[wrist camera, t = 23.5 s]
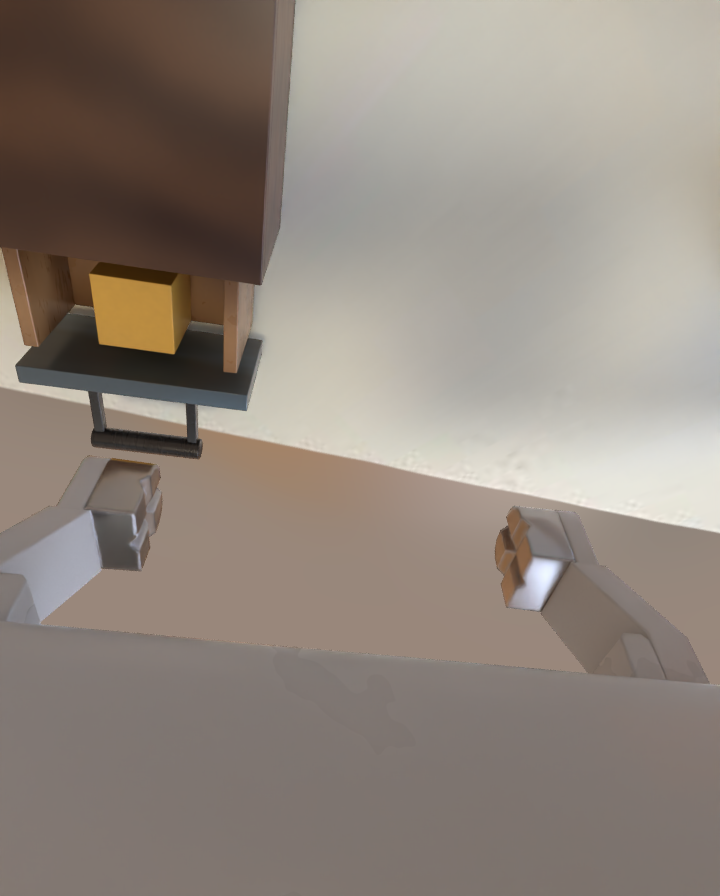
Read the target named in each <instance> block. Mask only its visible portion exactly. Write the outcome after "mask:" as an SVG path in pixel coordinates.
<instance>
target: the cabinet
mask: <svg viewBox="0 0 720 896" xmlns="http://www.w3.org/2000/svg"><path fill="white" fill-rule="evenodd" d="M294 14H295V0H0V247H3V248H10V249H17V250H24V251H31V252H37V253H44V254H51V255H58V256H65V257H71V258H78V259H85V260H92V261H99V262H105V263H112V264H119V265H126V266H133V267H139V268H146V269H153V270H160V271H166V272H173V273H180V274H187V275H194V276H200V277H207V278H214V279H221V280H228V281H234V282H241V283H248V284H255V285H262V282H263V278H264V276H265V273H266V270H267V266H268V263H269V260H270V257H271V254H272V251H273V248H274V245H275V242H276V239H277V235H278V232H279V229H280V221H281V206H282V191H283V176H284V161H285V147H286V132H287V117H288V102H289V88H290V73H291V58H292V43H293V29H294Z"/></svg>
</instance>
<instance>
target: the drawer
mask: <svg viewBox="0 0 720 896" xmlns="http://www.w3.org/2000/svg"><path fill="white" fill-rule="evenodd" d="M1 248H2V252H3V256H4V260H5V265H6V269H7V273H8V277H9V281H10V286H11V290H12V294H13V298H14V303H15V307H16V311H17V315H18V320H19V324H20V328H21V332H22V336H23V341H24V345H27V346H32V347H31V348H30V349H29V350H28V352H27V353H26V354H25V355H24V356H23V357H22V358H21V359H20V361H19V362H18V363H17V364H16V365H15V367H16V371H17V375H18V379H19V382H21V383H29V384H37V385H45V386H53V387H61V388H69V389H76V390H84V391H88V393H89V399H90V405H91V411H92V417H93V423H94V429H93V431H92V435H91V444H92V446H93V447H98V448H106V449H115V450H124V451H132V452H141V453H149V454H158V455H166V456H174V457H183V458H192V459H200V457H201V454H202V446H203V443H202V439H198V409H197V405H203V406H211V407H219V408H227V409H235V410H242V411H247V408H248V405H249V401H250V397H251V393H252V390H253V386H254V382H255V378H256V374H257V371H258V367H259V363H260V359H261V355H262V340H256V339H249V338H248V336H249V332H250V329H251V326H252V321H253V297H254V284H248V283H241V282H234V281H228V280H221V279H214V278H207V277H200V276H194V275H190V292H191V321H198V322H205V323H212V324H219V325H224V335H220V334H213V333H206V332H199V331H191V330H186V332H185V334H184V336H183V338H182V340H181V342H180V344H179V346H178V348H177V350H176V352H175V354H168V353H161V352H154V351H146V350H139V349H132V348H124V347H117V346H109V345H102V344H99V340H98V333H97V326H96V319H95V317H90V316H83V315H76V314H68V312H69V311H70V310H71V309H72V307H73V306H74V305H75V304H76V305H83V306H90V307H94V305H93V298H92V291H91V284H90V277H89V273H90V272H91V271H92V270H93V269H94V267H95V266H96V265H97V264H98V263H99V261H92V260H85V259H78V258H71V257H65V256H58V255H51V254H44V253H37V252H31V251H24V250H17V249H10V248H3V247H1ZM102 393H108V394H116V395H124V396H132V397H140V398H148V399H155V400H163V401H171V402H179V403H186V417H187V437H181V436H173V435H164V434H156V433H147V432H140V431H131V430H123V429H115V428H107V426H106V419H105V413H104V406H103V399H102Z"/></svg>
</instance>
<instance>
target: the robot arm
mask: <svg viewBox="0 0 720 896" xmlns="http://www.w3.org/2000/svg"><path fill="white" fill-rule="evenodd" d="M160 478H161V477H160V468H159V466H158V465H157V464H151V463H144V462H136V461H129V460H122V459H115V458H112V459H111V458H103V457H97V456H90V455H89V456H87V457H86V458H84V459H83V461H82V462H81V464H80V466H79V467H78V469H77V471H76V473H75V474H74V476H73V478H72V480H71V481H70V483H69V485H68V487H67V488H66V490H65V492H64V493H63V495H62V497H61V499H60V500H59V502H58V504H57V505H56V506H48V507H46V508H44V509H42V510H41V511H39V512H37V513H36V514H34V515H32V516H30V517H28V518H27V519H25V520H23V521H21V522H19V523H18V524H16V525H14V526H12V527H11V528H9V529H7V530H5V531H3V532H2V533H0V896H720V685H713V684H710V683H709V681H708V679H707V677H706V675H705V673H704V671H703V668H702V667H701V664H700V662H699V660H698V658H697V656H696V654H695V652H694V650H693V648H692V646H691V644H690V642H689V640H688V638H687V637H686V636H685V635H684V634H683V633H681V632H680V631H679V630H678V629H677V628H676V627H675V626H673V625H672V624H671V623H670V622H669V621H668V620H667V619H665V618H664V617H663V616H662V615H661V614H660V613H659V612H657V611H656V610H655V609H654V608H653V607H652V606H651V605H649V604H648V603H647V602H646V601H645V600H644V599H642V598H641V597H640V596H639V595H638V594H637V593H636V592H634V591H633V590H632V589H631V588H630V587H629V586H628V585H627V584H625V583H624V582H623V581H622V580H621V579H620V578H619V577H617V576H616V575H615V574H614V573H613V572H612V571H611V570H609V569H608V568H607V567H606V566H602V565H599V563H598V561H597V558H596V556H595V553H594V551H593V548H592V546H591V544H590V541H589V539H588V536H587V534H586V531H585V529H584V526H583V524H582V522H581V519H580V517H579V515H578V514H577V513H576V512H569V511H559V510H547V509H538V508H529V507H520V506H513V507H512V508H511V509H510V511H509V513H508V515H507V517H506V518H507V522H508V526H506V527H505V528H503V529H502V530H500V533H499V535H498V538H497V540H496V547H495V560H496V565H497V569H498V570H499V571H500V572H501V573H502V574H503V575H504V578H503V580H502V583H501V587H502V591H503V596H504V600H505V604H506V607H507V608H514V609H522V610H530V611H537V612H541V615H542V616H543V617H544V618H545V620H546V621H547V622H548V623H549V625H550V626H551V627H552V629H553V630H554V631H555V632H556V634H557V635H558V636H559V637H560V638H561V640H562V641H563V642H564V643H565V645H566V646H567V647H568V649H569V650H570V651H571V652H572V654H573V655H574V656H575V657H576V659H577V660H578V661H579V662H580V664H581V665H582V666H583V667H584V669H585V670H586V671H587V672H588V673H579V672H566V671H556V670H545V669H534V668H523V667H511V666H501V665H489V664H477V663H466V662H456V661H445V660H433V659H421V658H411V657H400V656H388V655H377V654H366V653H354V652H343V651H332V650H321V649H309V648H298V647H287V646H276V645H265V644H253V643H242V642H231V641H219V640H208V639H197V638H186V637H175V636H164V635H153V634H141V633H129V632H118V631H107V630H95V629H84V628H74V627H62V626H51V625H41V623H40V622H41V621H42V620H43V619H44V618H46V617H47V616H48V615H49V614H51V613H52V612H53V611H54V610H55V609H57V608H58V607H59V606H60V605H61V604H62V603H64V602H65V601H66V600H67V599H68V598H70V597H71V596H72V595H73V594H74V593H75V592H77V591H78V590H79V589H80V588H81V587H83V586H84V585H85V584H86V583H87V582H89V581H90V580H91V579H92V578H93V577H94V576H96V575H97V574H98V573H99V572H100V571H101V568H103V569H116V570H130V571H142V568H143V566H144V563H145V560H146V558H147V555H148V552H149V550H150V541H149V537H150V536H152V535H153V534H154V533H156V530H157V527H158V524H159V521H160V516H161V511H162V492H161V491H160V490H159V489H158V488H157V485H158V483H159V480H160Z"/></svg>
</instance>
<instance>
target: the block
mask: <svg viewBox="0 0 720 896" xmlns="http://www.w3.org/2000/svg"><path fill="white" fill-rule="evenodd" d="M89 277H90V284H91V291H92V298H93V305H94V312H95V319H96V326H97V333H98V340H99V344H102V345H109V346H117V347H124V348H132V349H139V350H146V351H154V352H161V353H168V354H175V352H176V350H177V348H178V346H179V344H180V342H181V340H182V338H183V336H184V334H185V332H186V330H187V328H188V326H189V324H190V322H191V292H190V275H187V274H180V273H173V272H166V271H160V270H153V269H146V268H139V267H133V266H126V265H119V264H112V263H105V262H99V263H98V264H97V265H96V266H95V267H94V269H93V270H92V271H91V272H90V273H89Z"/></svg>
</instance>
